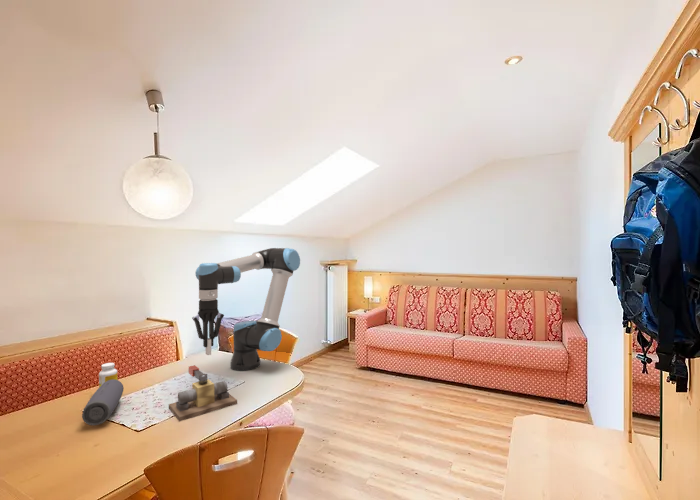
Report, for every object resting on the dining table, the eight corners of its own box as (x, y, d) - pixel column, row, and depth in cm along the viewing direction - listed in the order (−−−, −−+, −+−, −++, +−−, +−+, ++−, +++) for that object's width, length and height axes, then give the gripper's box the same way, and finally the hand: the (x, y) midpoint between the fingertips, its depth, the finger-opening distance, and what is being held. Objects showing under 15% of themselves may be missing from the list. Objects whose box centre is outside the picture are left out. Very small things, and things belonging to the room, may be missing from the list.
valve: (223, 392, 160) (223, 372, 159) (237, 403, 149) (237, 381, 149) (168, 407, 145) (168, 385, 145) (179, 421, 135) (179, 396, 134)
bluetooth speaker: (98, 404, 149) (98, 379, 149) (125, 400, 152) (124, 376, 152) (80, 431, 128) (79, 402, 127) (111, 426, 131) (110, 398, 131)
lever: (208, 382, 147) (208, 375, 147) (200, 384, 145) (200, 377, 145) (195, 372, 159) (195, 365, 158) (187, 373, 156) (187, 366, 156)
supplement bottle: (121, 391, 161) (120, 362, 161) (110, 397, 155) (109, 367, 154) (107, 390, 162) (106, 361, 162) (95, 396, 155) (94, 366, 155)
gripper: (195, 301, 150) (195, 359, 151) (226, 298, 159) (226, 353, 159) (189, 299, 156) (189, 355, 156) (220, 296, 164) (220, 349, 165)
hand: (208, 354), depth 158 cm, fingers closed
